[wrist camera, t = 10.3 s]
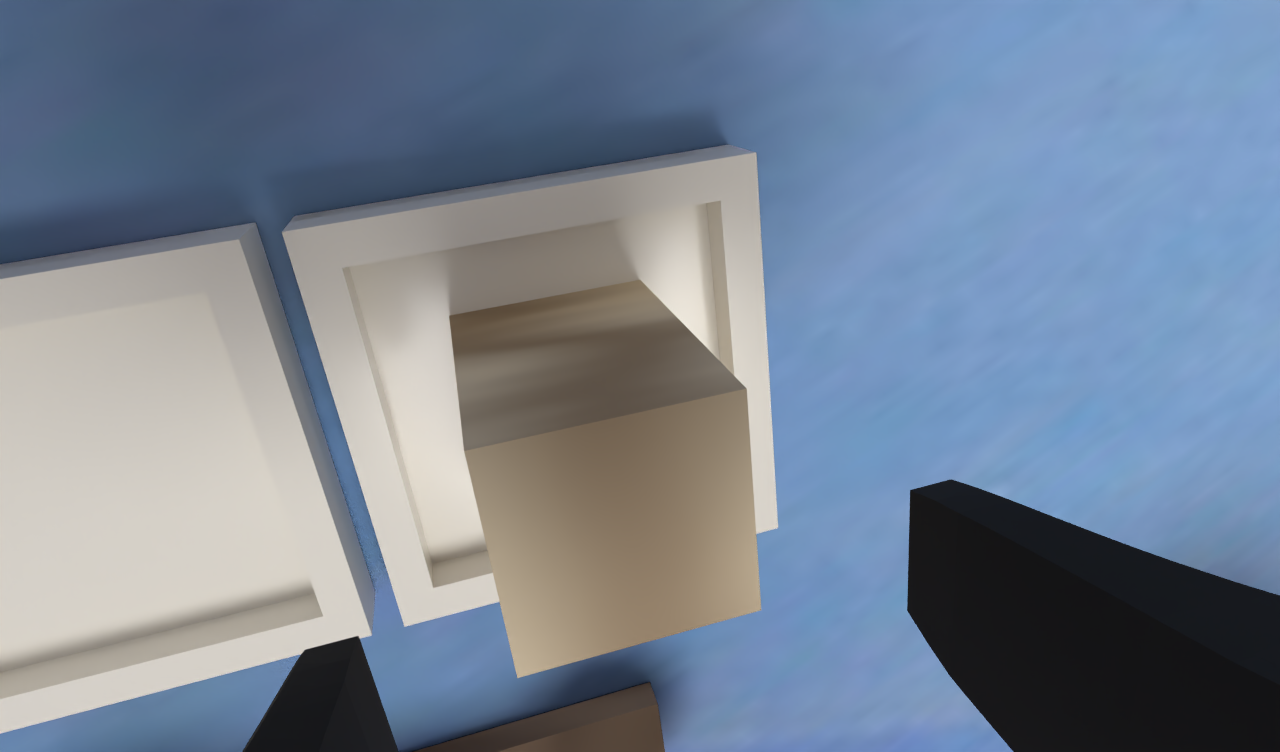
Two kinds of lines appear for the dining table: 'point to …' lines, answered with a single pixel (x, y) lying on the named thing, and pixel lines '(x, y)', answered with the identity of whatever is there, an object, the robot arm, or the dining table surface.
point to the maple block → (605, 472)
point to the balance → (576, 728)
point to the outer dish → (500, 275)
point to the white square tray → (160, 478)
